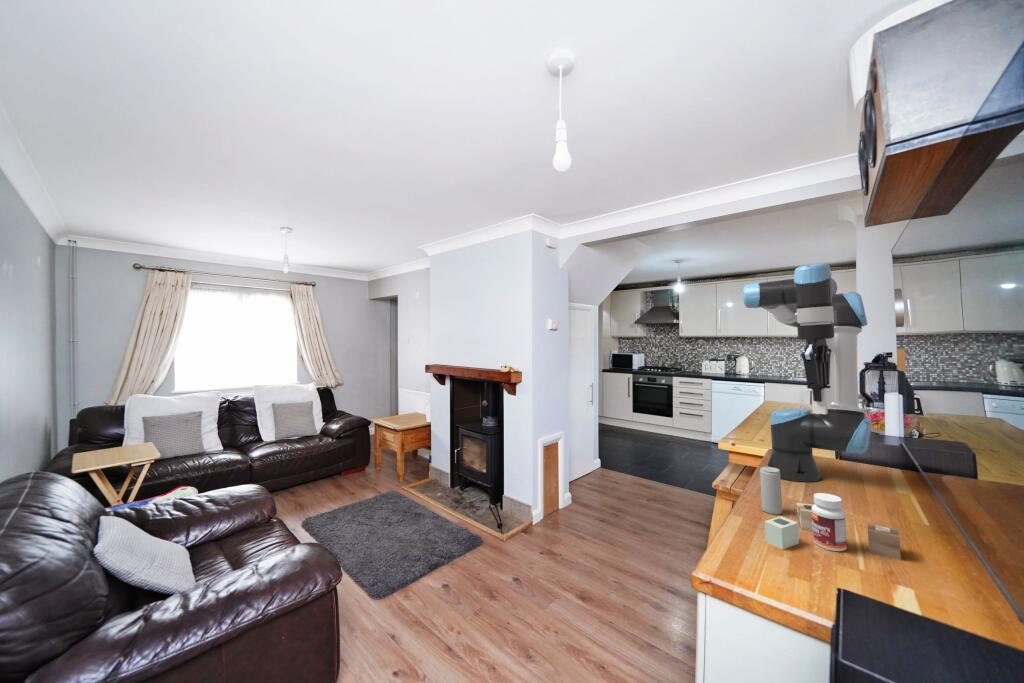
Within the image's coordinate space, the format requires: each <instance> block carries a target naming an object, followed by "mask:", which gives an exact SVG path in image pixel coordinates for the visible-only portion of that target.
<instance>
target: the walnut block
mask: <svg viewBox="0 0 1024 683" xmlns="http://www.w3.org/2000/svg"><path fill="white" fill-rule="evenodd" d="M867 540H868V541H867V542H868V553H869V554H872V555H878V556H880V557H881V556H882V557H884V558H885V557H886V558H890V559H894V560H897V561H902V560H901V559H902V558H901V556H902V555H901V543H900V542H901V539H900V533H899V530H898V528H897V527H896V528H895V527H891V526H887V525H882V524H881V525H880V524H876V523H872V522H867Z"/></svg>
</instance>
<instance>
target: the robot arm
mask: <svg viewBox="0 0 1024 683" xmlns="http://www.w3.org/2000/svg"><path fill="white" fill-rule="evenodd" d="M837 290H838V286H837V282H836V280H835V279H834V278H833V277H832V272H831V266H830V264H827V263H816V264H815V263H813V264H809V265H808V264H807V265H802V266H798V267H797V268H795V269H794V278H788V279H781V280H780V279H779V280H773V281H772V280H771V281H764V282H755V283H751V284H750V283H749V284H746V285H745V286H744V287H743V290H742V299H743V304H744V306H745V308H747V309H760V308H762V309H764V310H765V311H767V312H769V313H771V315H772V316H773V317H774V319H776V321H777V322H779V323H781V324H784V325H786V326H789V327H794V328H797V329H796V330H797V339H798V340H802V341H803V340H805V346H804V351H801V353H800V354H801V358H802V361H803V366H804V371H805V372H804V373H805V377H806V378H805V379H806V384H807V385H806V388H807V389H810V390H811V401H812V404H811V405H812V411H811V410H810V409H809V408H802V407H796V408H795V407H794V408H793V407H792V408H783V409H782V408H781V409H776V410H773V411H772V412H771V413H770V423H769V425H770V432H771V433H770V434H771V435H770V436H771V454H770V456H769V459H768V462H767V465H766V467H773V468H777V469H779V470H780V471H779V472H780V477H781V479H782V480H787V481H792V482H798V483H800V482H801V483H803V482H804V483H813V482H817V481H820V480H821V472H820V469H819V467H818V465H817V462H816V460H815V457H814V455H813V449H817V450H823V451H824V450H825V451H834V452H839V453H846V454H849V453H850V454H858V455H860V454H864V453H866V452H867V450H868V447H869V444H870V437H871V432H872V431H871V429H872V428H871V427H872V419H871V418H869V417H867V416H866V414H865V410H863V409H861V408H860V406H859V396H858V395H859V391H858V390H859V389H858V367H857V366H858V360H857V357H858V356H857V336H858V335H859V334H861V332H863V328H862V327H865V326H868V320H867V315H866V312H865V306H864V302H863V297H862V296H861V294H860V293H857V292H847V293H846V292H841V293H838V292H837Z"/></svg>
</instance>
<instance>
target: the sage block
mask: <svg viewBox="0 0 1024 683" xmlns="http://www.w3.org/2000/svg"><path fill="white" fill-rule="evenodd" d="M764 533H765V534H764V536H765V543H768V544H770V545H772V546H774V547H777V548H778V549H780V550H786V549H788V548H790V547H794V546H796V545H799V544H800V533H799V523H798V521H794V520H792V519H789V518H787V517H784V516H782V515H779V516H777V517H774V518H771V519H768V520H764Z"/></svg>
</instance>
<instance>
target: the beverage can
mask: <svg viewBox="0 0 1024 683" xmlns="http://www.w3.org/2000/svg"><path fill="white" fill-rule="evenodd" d="M779 471H780V470H779V469H777V468H773V467H767V466H761V467H760V469H759V478H760V495H761V496H760V497H761V509H762V511H763V512H764V513H766V514H769V515H774V516H778V515H779V516H780V515H781V514H782V513H783V500H782V499H783V498H782V480H781V477H780V472H779Z"/></svg>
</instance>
